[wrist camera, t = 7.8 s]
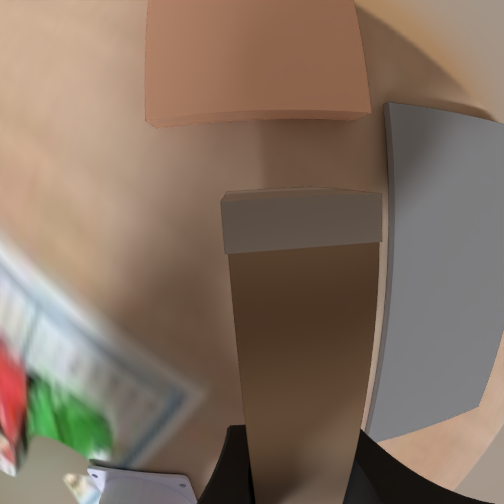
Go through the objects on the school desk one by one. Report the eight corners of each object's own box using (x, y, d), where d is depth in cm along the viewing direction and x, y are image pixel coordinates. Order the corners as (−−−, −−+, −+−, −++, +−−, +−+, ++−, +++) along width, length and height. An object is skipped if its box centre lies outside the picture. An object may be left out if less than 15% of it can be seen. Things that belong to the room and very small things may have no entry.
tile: (371, 113, 11) (341, -46, 9) (145, 120, 11) (152, -44, 9) (353, 121, 13) (330, -26, 11) (158, 129, 13) (161, -22, 11)
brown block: (305, 487, 13) (323, 561, 8) (256, 493, 13) (264, 569, 8) (310, 186, 10) (381, 193, 5) (227, 191, 10) (220, 201, 5)
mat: (474, 402, 18) (478, 406, 17) (363, 439, 17) (366, 445, 17) (511, 128, 13) (517, 128, 13) (383, 104, 13) (388, 102, 12)
